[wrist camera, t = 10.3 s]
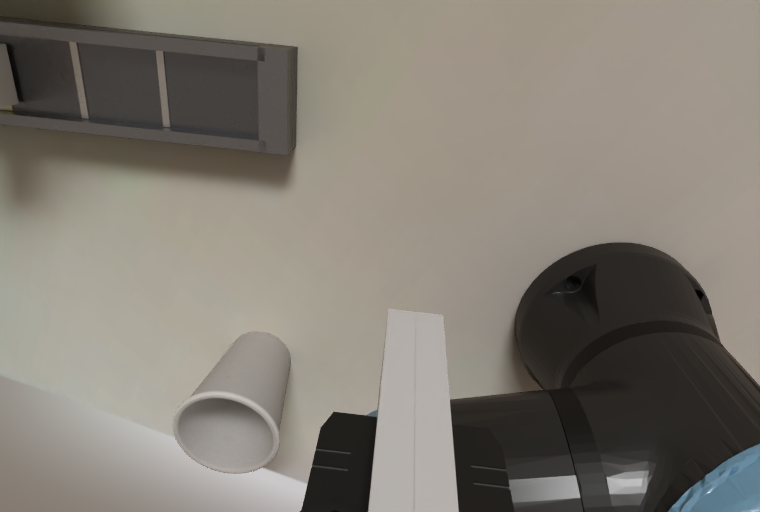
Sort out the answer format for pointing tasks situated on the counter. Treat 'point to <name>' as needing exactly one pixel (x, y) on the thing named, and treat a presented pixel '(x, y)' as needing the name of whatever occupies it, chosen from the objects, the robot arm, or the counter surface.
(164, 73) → the tray
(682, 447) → the robot arm
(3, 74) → the fader tab
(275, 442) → the dixie cup
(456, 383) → the counter surface
